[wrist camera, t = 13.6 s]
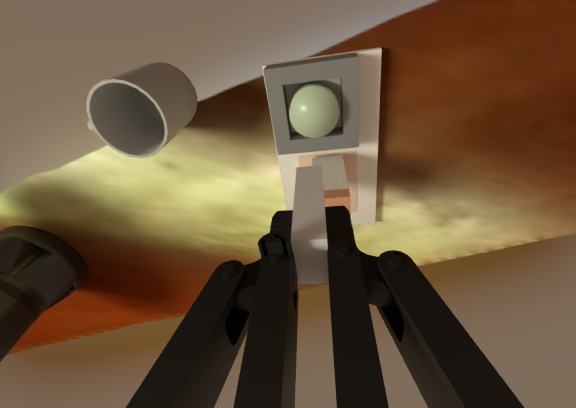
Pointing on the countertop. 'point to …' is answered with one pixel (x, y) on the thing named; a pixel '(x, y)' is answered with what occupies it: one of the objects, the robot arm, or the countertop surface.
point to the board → (348, 131)
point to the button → (314, 109)
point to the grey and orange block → (334, 180)
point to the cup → (141, 108)
